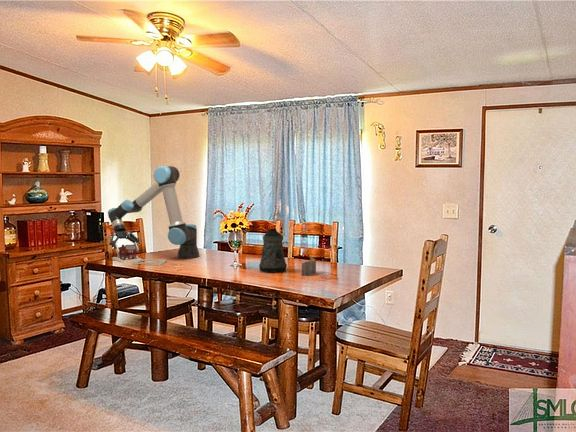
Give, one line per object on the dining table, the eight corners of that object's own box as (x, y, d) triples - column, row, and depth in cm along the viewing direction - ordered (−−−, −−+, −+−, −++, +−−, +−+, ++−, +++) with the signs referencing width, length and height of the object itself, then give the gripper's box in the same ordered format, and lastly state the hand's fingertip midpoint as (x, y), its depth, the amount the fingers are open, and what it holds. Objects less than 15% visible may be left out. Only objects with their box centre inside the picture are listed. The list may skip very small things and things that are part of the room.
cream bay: (112, 259, 343) (112, 257, 343) (130, 257, 352) (130, 255, 352) (122, 262, 330) (122, 260, 329) (141, 260, 338) (141, 258, 338)
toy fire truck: (118, 259, 343) (118, 243, 342) (137, 258, 345) (137, 243, 344) (116, 260, 336) (116, 245, 335) (136, 260, 338) (135, 244, 338)
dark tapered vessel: (273, 274, 292) (273, 231, 291) (250, 270, 305) (250, 229, 303) (292, 270, 305) (292, 229, 303) (268, 266, 317) (268, 227, 316)
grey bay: (166, 262, 333) (166, 259, 333) (159, 265, 320) (159, 263, 320) (139, 261, 334) (139, 259, 334) (132, 265, 321) (132, 262, 321)
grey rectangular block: (311, 273, 299) (311, 256, 298) (315, 273, 297) (316, 257, 297) (301, 276, 290) (301, 259, 289) (305, 276, 288) (305, 259, 287)
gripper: (134, 229, 359) (144, 253, 349) (99, 232, 343) (108, 256, 333) (137, 222, 355) (147, 246, 344) (102, 224, 338) (111, 249, 328)
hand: (128, 251), depth 338 cm, fingers open, 13 cm apart
